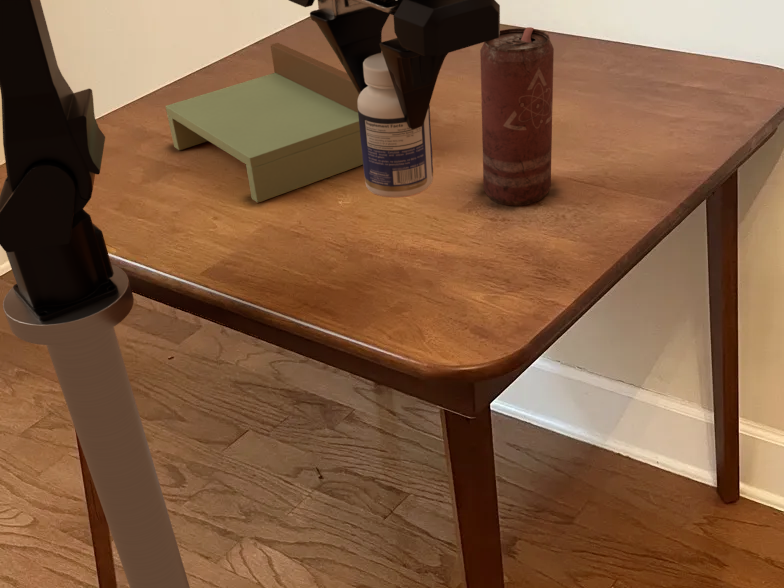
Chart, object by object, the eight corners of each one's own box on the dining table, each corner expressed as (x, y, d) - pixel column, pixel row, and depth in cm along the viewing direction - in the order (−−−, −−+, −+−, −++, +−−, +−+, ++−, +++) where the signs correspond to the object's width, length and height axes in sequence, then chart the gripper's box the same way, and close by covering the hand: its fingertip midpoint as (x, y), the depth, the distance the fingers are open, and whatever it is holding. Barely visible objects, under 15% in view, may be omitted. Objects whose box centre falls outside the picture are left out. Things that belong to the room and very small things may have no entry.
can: (557, 179, 96) (561, 25, 87) (542, 209, 91) (544, 51, 82) (494, 174, 97) (491, 23, 89) (476, 204, 93) (471, 48, 84)
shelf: (257, 203, 96) (244, 126, 91) (174, 147, 108) (158, 76, 103) (379, 158, 102) (373, 84, 97) (288, 110, 114) (278, 42, 109)
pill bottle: (381, 166, 83) (371, 45, 77) (443, 174, 81) (438, 50, 75) (353, 195, 79) (341, 69, 73) (418, 203, 78) (410, 75, 72)
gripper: (566, -116, 65) (558, 122, 74) (398, -148, 77) (410, 60, 87) (423, -84, 60) (434, 167, 70) (268, -123, 72) (296, 94, 82)
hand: (394, 116), depth 77 cm, fingers closed on pill bottle, 5 cm apart
